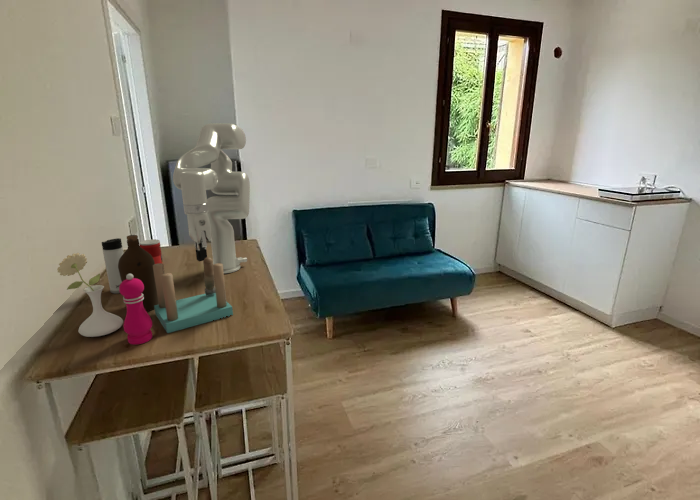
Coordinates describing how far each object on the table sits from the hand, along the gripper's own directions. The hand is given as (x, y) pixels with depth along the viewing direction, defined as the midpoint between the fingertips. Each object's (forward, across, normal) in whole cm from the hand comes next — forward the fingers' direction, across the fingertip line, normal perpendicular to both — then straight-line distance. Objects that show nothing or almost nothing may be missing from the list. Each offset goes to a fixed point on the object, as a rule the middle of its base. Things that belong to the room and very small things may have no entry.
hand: (202, 259), depth 137 cm
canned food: (+15, +49, +7) cm, 52 cm away
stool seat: (+14, -12, +8) cm, 20 cm away
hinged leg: (+10, -6, 0) cm, 12 cm away
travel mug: (+14, +25, +24) cm, 37 cm away
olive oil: (+14, +4, +20) cm, 25 cm away
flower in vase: (+14, -7, +34) cm, 37 cm away
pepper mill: (+14, -19, +25) cm, 34 cm away
